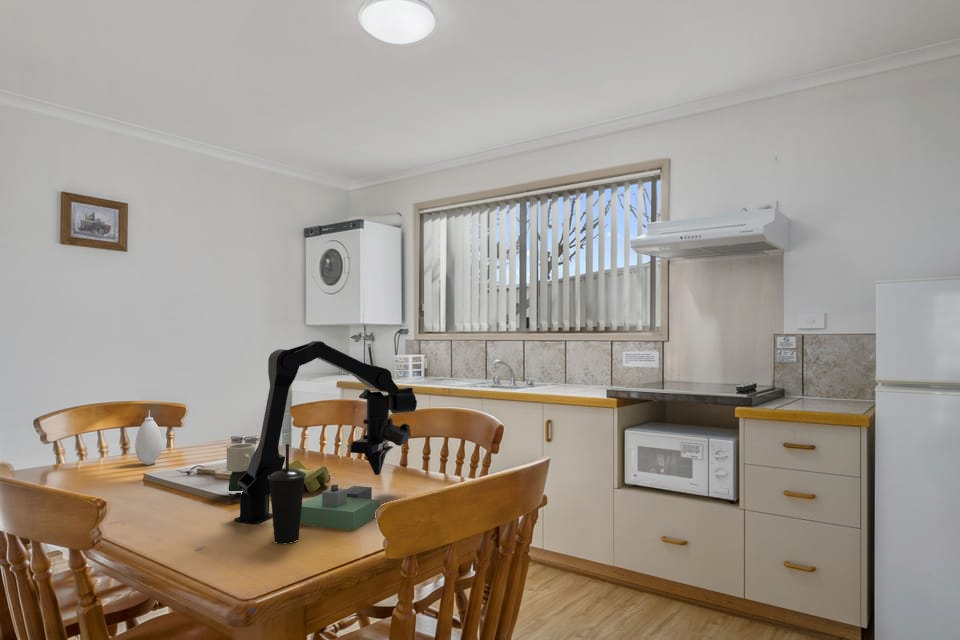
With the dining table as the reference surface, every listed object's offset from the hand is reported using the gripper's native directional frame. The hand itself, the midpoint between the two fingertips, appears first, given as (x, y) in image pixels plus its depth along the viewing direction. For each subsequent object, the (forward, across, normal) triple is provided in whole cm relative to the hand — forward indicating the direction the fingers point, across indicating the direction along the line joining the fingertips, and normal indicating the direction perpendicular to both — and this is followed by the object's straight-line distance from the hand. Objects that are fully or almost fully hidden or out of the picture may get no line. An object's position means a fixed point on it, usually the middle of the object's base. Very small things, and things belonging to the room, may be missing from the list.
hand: (377, 474), depth 161 cm
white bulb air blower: (+6, +13, +91) cm, 92 cm away
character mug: (+6, -8, +37) cm, 38 cm away
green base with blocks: (+6, -16, 0) cm, 17 cm away
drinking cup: (+6, -35, +3) cm, 36 cm away
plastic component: (+7, +4, +26) cm, 27 cm away
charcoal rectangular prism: (+6, -11, 0) cm, 13 cm away
